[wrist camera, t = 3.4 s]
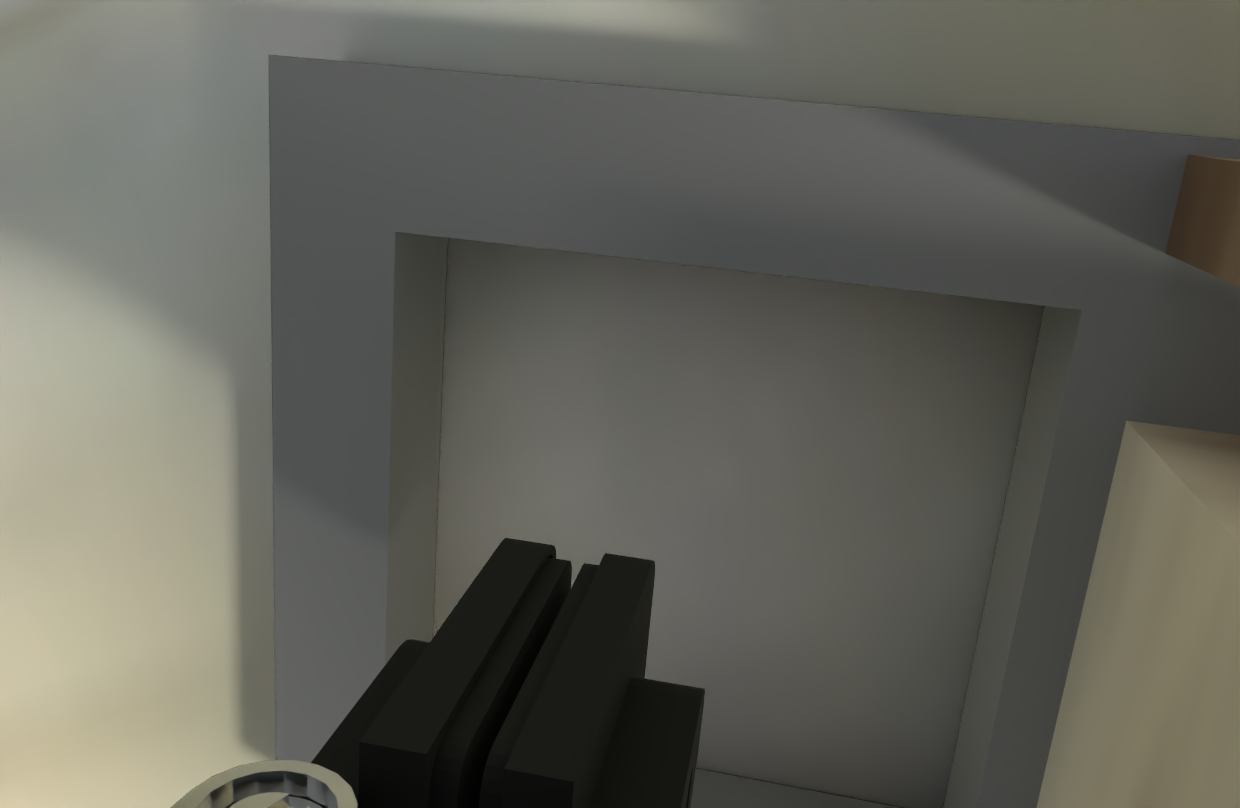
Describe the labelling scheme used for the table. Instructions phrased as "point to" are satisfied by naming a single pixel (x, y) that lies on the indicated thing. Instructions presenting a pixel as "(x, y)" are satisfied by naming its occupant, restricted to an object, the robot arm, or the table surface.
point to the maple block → (1157, 635)
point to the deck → (725, 239)
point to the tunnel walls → (1208, 217)
